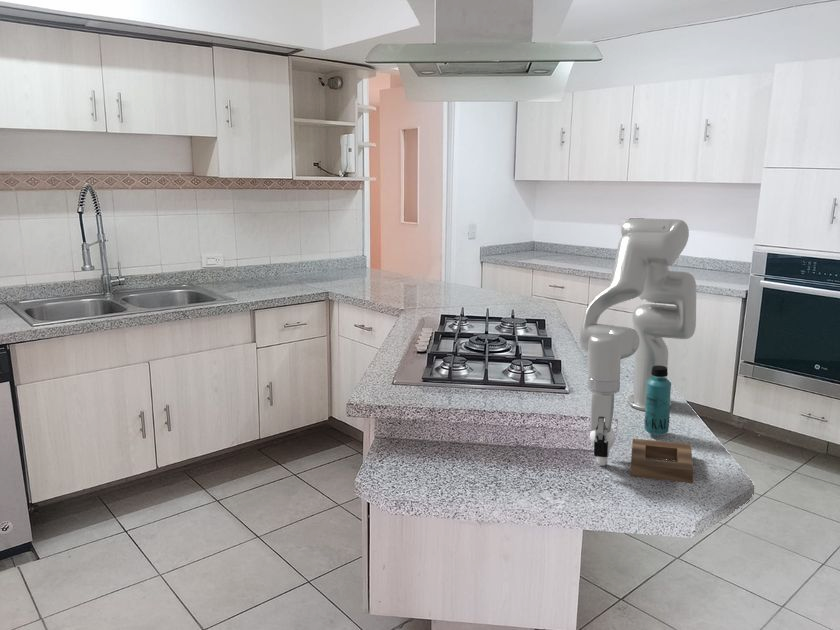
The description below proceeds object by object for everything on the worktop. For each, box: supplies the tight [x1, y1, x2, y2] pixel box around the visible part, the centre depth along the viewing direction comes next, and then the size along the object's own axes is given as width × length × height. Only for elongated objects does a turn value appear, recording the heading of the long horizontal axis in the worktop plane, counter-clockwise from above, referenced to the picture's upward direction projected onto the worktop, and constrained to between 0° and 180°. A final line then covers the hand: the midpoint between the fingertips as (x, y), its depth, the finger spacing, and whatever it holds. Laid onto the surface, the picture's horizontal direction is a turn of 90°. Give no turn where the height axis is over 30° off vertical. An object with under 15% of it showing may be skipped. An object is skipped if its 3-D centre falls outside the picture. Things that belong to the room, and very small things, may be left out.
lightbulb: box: [589, 427, 616, 467], centre depth 159 cm, size 6×6×11 cm
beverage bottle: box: [643, 365, 672, 436], centre depth 173 cm, size 6×7×20 cm
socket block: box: [630, 438, 694, 484], centre depth 158 cm, size 14×14×4 cm
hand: (602, 447), depth 160 cm, fingers open, 9 cm apart
